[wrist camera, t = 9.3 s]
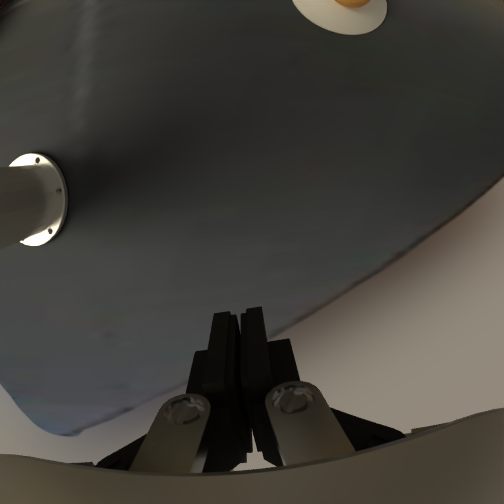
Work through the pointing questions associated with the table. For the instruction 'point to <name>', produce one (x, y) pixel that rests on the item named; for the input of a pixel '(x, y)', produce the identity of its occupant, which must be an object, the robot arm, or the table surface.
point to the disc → (343, 15)
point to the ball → (353, 3)
